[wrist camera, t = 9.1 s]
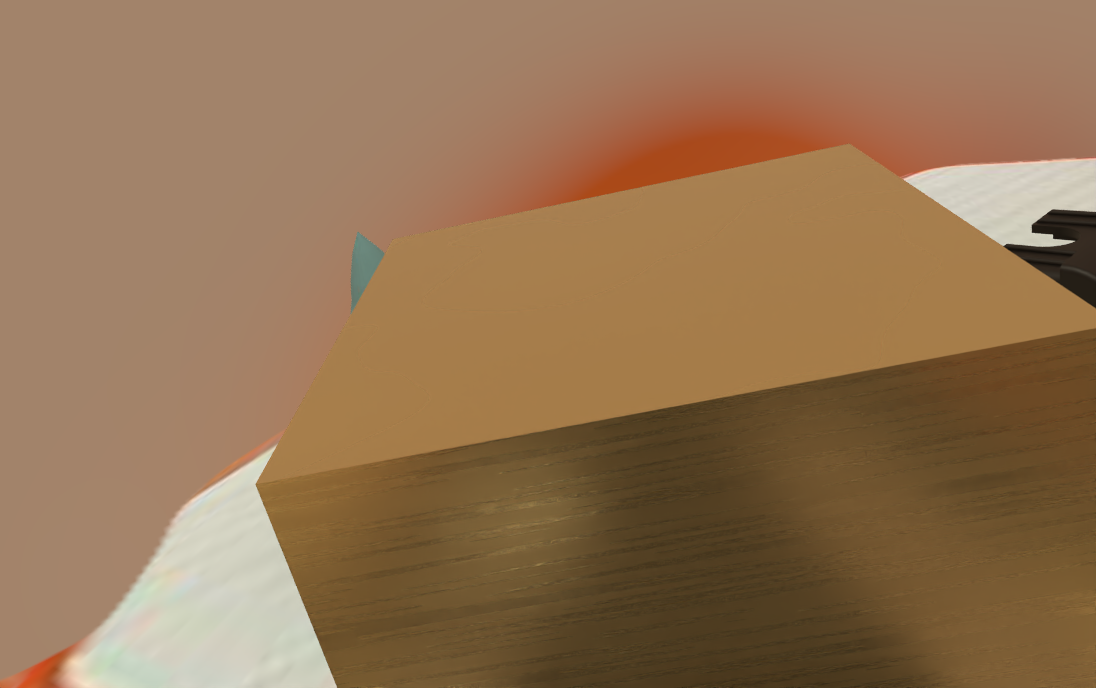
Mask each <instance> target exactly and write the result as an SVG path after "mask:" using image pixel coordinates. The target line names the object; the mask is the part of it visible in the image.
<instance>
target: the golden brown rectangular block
mask: <svg viewBox="0 0 1096 688" xmlns="http://www.w3.org/2000/svg"><path fill="white" fill-rule="evenodd" d="M256 487H257V489H258V492H259V494H260V497H261V499H262V502H263V504H264V507H265V509H266V512H267V514H268V517H269V519H270V521H271V524H272V526H273V529H274V531H275V534H276V536H277V539H278V541H279V544H280V546H281V549H282V551H283V554H284V556H285V559H286V561H287V564H288V566H289V569H290V571H291V574H292V576H293V579H294V581H295V584H296V586H297V589H298V591H299V594H300V596H301V599H302V601H303V603H304V606H305V608H306V611H307V613H308V616H309V618H310V621H311V623H312V626H313V628H314V631H315V633H316V636H317V638H318V641H319V643H320V646H321V648H322V651H323V653H324V656H325V658H326V661H327V663H328V666H329V668H330V671H331V673H332V676H333V678H334V681H335V683H336V685H337V688H1096V308H1094V307H1093V306H1091V305H1090V304H1088V303H1087V302H1085V301H1084V300H1082V299H1081V298H1079V297H1078V296H1076V295H1075V294H1073V293H1072V292H1070V291H1069V290H1067V289H1066V288H1065V287H1063V286H1062V285H1060V284H1059V283H1057V282H1056V281H1054V280H1053V279H1051V278H1050V277H1048V276H1047V275H1045V274H1044V273H1042V272H1041V271H1039V270H1038V269H1036V268H1035V267H1033V266H1032V265H1030V264H1029V263H1027V262H1026V261H1024V260H1023V259H1021V258H1020V257H1018V256H1017V255H1015V254H1014V253H1012V252H1011V251H1009V250H1008V249H1006V248H1005V247H1003V246H1002V245H1000V244H999V243H997V242H996V241H994V240H993V239H991V238H990V237H988V236H987V235H985V234H984V233H982V232H981V231H979V230H978V229H976V228H975V227H973V226H972V225H970V224H969V223H967V222H966V221H964V220H963V219H961V218H960V217H958V216H957V215H955V214H954V213H952V212H951V211H949V210H948V209H946V208H945V207H943V206H942V205H940V204H939V203H937V202H936V201H934V200H933V199H931V198H930V197H928V196H927V195H925V194H924V193H922V192H921V191H919V190H918V189H916V188H915V187H913V186H912V185H910V184H909V183H907V182H906V181H904V180H903V179H901V178H900V177H898V176H897V175H895V174H894V173H892V172H891V171H889V170H888V169H886V168H885V167H883V166H882V165H880V164H879V163H877V162H876V161H874V160H873V159H871V158H870V157H868V156H867V155H865V154H864V153H863V152H861V151H860V150H858V149H857V148H855V147H854V146H852V145H851V144H846V145H841V146H836V147H832V148H827V149H822V150H818V151H812V152H808V153H803V154H798V155H794V156H789V157H784V158H779V159H775V160H770V161H765V162H760V163H755V164H750V165H746V166H741V167H736V168H732V169H726V170H722V171H717V172H712V173H707V174H702V175H698V176H693V177H688V178H684V179H679V180H675V181H669V182H665V183H659V184H655V185H650V186H645V187H641V188H636V189H631V190H627V191H621V192H617V193H612V194H607V195H602V196H597V197H592V198H588V199H583V200H578V201H573V202H569V203H564V204H559V205H554V206H549V207H545V208H540V209H535V210H530V211H526V212H521V213H516V214H512V215H506V216H502V217H497V218H492V219H487V220H483V221H478V222H473V223H468V224H464V225H459V226H454V227H449V228H444V229H439V230H435V231H430V232H426V233H420V234H416V235H411V236H406V237H401V238H397V239H393V240H392V242H391V244H390V246H389V247H388V249H387V251H386V253H385V254H384V256H383V258H382V260H381V262H380V263H379V265H378V267H377V269H376V270H375V272H374V274H373V276H372V278H371V279H370V281H369V283H368V285H367V287H366V288H365V290H364V292H363V294H362V295H361V297H360V299H359V301H358V303H357V304H356V306H355V308H354V310H353V311H352V313H351V315H350V317H349V319H348V321H347V322H346V324H345V326H344V328H343V329H342V331H341V333H340V335H339V337H338V338H337V340H336V342H335V344H334V345H333V347H332V349H331V351H330V353H329V354H328V356H327V358H326V360H325V362H324V363H323V365H322V367H321V369H320V370H319V372H318V374H317V376H316V378H315V379H314V381H313V383H312V385H311V387H310V388H309V390H308V392H307V393H306V395H305V397H304V399H303V401H302V403H301V404H300V406H299V408H298V410H297V411H296V413H295V415H294V417H293V418H292V420H291V422H290V424H289V426H288V427H287V429H286V431H285V433H284V434H283V436H282V438H281V440H280V442H279V443H278V445H277V447H276V449H275V451H274V452H273V454H272V456H271V458H270V459H269V461H268V463H267V465H266V467H265V468H264V470H263V472H262V474H261V475H260V477H259V479H258V481H257V483H256Z"/></svg>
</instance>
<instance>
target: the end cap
mask: <svg viewBox="0 0 1096 688" xmlns="http://www.w3.org/2000/svg"><path fill="white" fill-rule="evenodd" d="M1032 233H1041V234H1053V239H1061V240H1073V241H1075V242H1072V243H1069V244H1066V245H1061V246H1053V247H1035V246H1025V245H1014V244H1006V245H1005V246H1003V247H1005V248H1006V249H1008V250H1009V251H1011V252H1012V253H1014V254H1015V255H1017V256H1018V257H1020V258H1021V259H1023V260H1024V261H1026V262H1027V263H1029V264H1030V265H1032V266H1033V267H1035V268H1036V269H1038V270H1039V271H1041V272H1042V273H1044V274H1045V275H1047V276H1048V277H1050V278H1051V279H1053V280H1054V281H1056V282H1057V283H1059V284H1060V285H1062V286H1063V287H1065V288H1066V289H1067V290H1069V291H1070V292H1072V293H1073V294H1075V295H1076V296H1078V297H1079V298H1081V299H1082V300H1084V301H1085V302H1087V303H1088V304H1090V305H1091V306H1093V307H1094V308H1096V212H1087V211H1070V210H1054V209H1053V210H1051V211H1050V212H1048V213H1047V214H1046V215H1044V216H1043V217H1042V218H1040V219H1039V220H1038V221H1036V222H1035V223H1034V224H1032Z"/></svg>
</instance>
